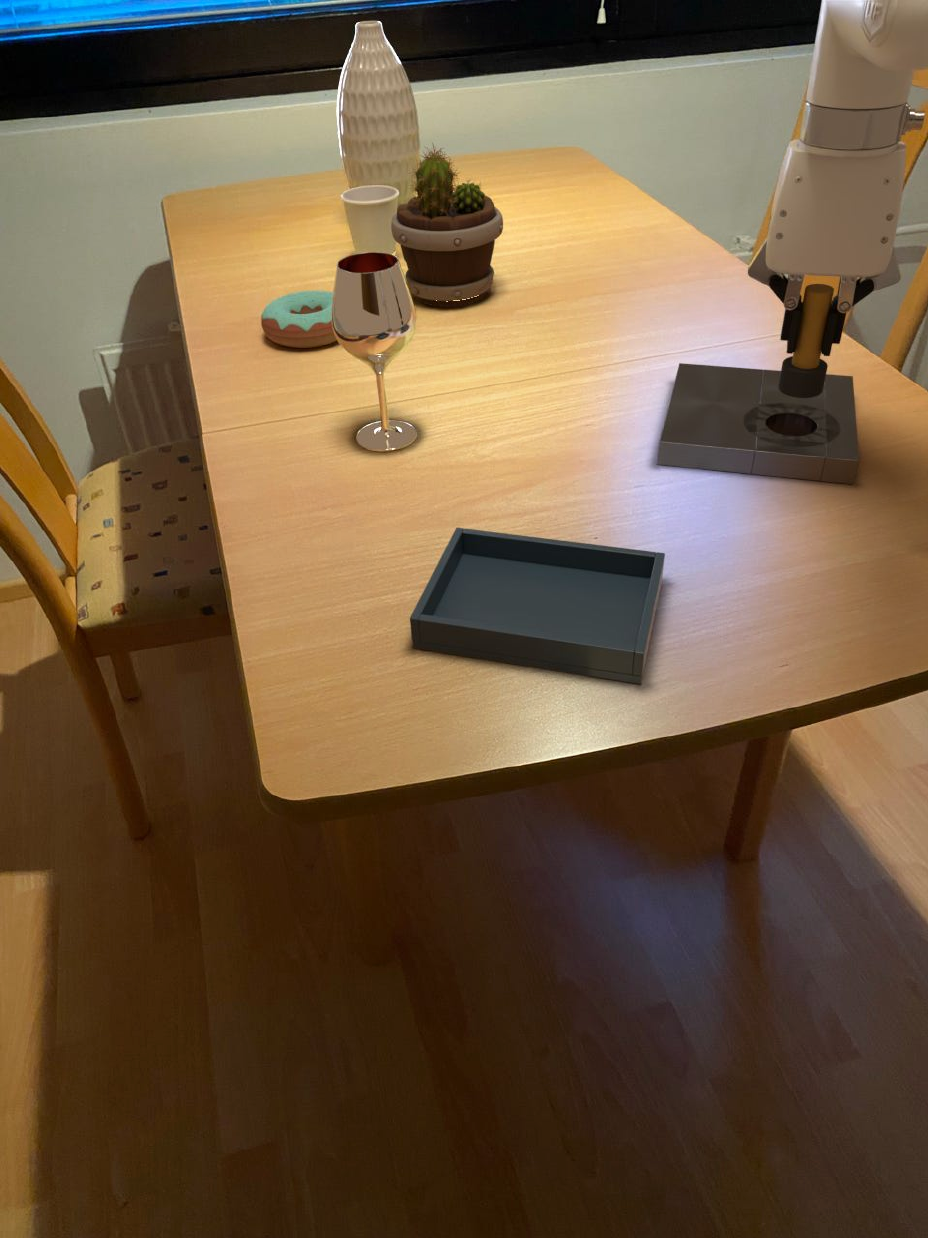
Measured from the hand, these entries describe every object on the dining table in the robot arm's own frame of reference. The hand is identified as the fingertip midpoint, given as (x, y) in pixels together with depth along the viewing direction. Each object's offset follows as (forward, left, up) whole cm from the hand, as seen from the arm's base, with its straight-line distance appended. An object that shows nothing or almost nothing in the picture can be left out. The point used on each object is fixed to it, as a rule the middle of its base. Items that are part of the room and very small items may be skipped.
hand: (808, 347), depth 85 cm
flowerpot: (+45, -34, -11) cm, 58 cm away
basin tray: (+18, +31, -10) cm, 37 cm away
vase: (+65, -64, -11) cm, 92 cm away
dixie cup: (+60, -44, -11) cm, 75 cm away
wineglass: (+40, +6, -11) cm, 42 cm away
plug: (0, 0, -4) cm, 4 cm away
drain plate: (+3, -3, -10) cm, 11 cm away
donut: (+59, -18, -11) cm, 63 cm away
